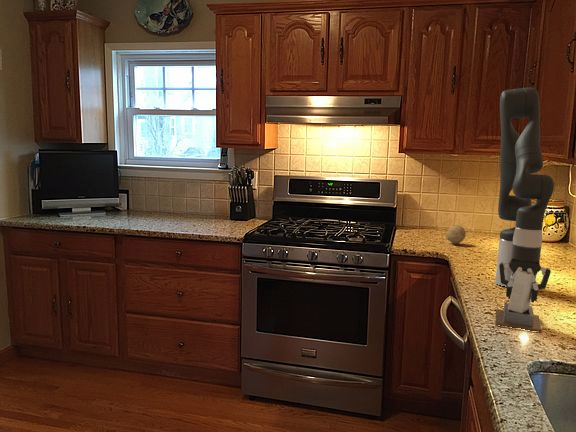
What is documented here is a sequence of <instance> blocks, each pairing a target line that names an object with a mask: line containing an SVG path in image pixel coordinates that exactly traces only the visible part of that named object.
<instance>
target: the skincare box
mask: <svg viewBox="0 0 576 432" xmlns="http://www.w3.org/2000/svg"><path fill="white" fill-rule="evenodd" d="M533 274H534V273H533ZM533 274H532V273H528V272H526V271H516V275H515V279H514V283H513V288H512V292H511V297H510V299H509V302H508V303H509V305H508V309H509V310H512V311H514V312H518V313H523V312H525V311H526V310H528V309H529V306H531V296H532V289H533V285H532V282H531V281H532V277H533ZM537 275H538V273H537V274H536V275H535V276H534V277H535V279H536V280H537Z"/></svg>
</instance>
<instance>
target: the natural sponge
mask: <svg viewBox="0 0 576 432" xmlns="http://www.w3.org/2000/svg"><path fill="white" fill-rule="evenodd" d="M465 238H466V230H465V228H464V227H463V226H461V225H459V224H456V225H452V226H451V227H450V228H449V229H448V231H447V233H446V239H447V240H448V241H449V242H450V243H452V244H453V245H459V244H461V242H463V241H464V240H465Z"/></svg>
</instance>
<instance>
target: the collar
mask: <svg viewBox="0 0 576 432" xmlns="http://www.w3.org/2000/svg"><path fill="white" fill-rule="evenodd" d="M508 305H509V302H504V305H503V309H495V318H496V320H495V324H494V325H500V326H507V327H512V328H521V329H525V330H530V331H539V332H541V333H542V332H543V331H542V325H541V320H540V316H539V315H538V314H534V310H533V306H532V305H530V306H529V309H528V310H526V311H525V312H523V313H518V312H514V311H512V310H509V309H508ZM530 331H529V332H530Z"/></svg>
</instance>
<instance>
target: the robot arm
mask: <svg viewBox="0 0 576 432" xmlns="http://www.w3.org/2000/svg"><path fill="white" fill-rule="evenodd" d="M499 99H500V100H499V114H500V115H499V117H500V152H499V153H500V156H499V178H500V181H499V183H500V184H499V195H498V205H497V207H498V209H497V212H498V213H497V214H498V217H499V218H500V220H503V221H511V222H515V225H514V226H513V227H510V228H506V229H503V230H500V231H499V239H498V250H497V261H496V262H497V263H496V271H495V280H494V284H495V283H496V284H498V285H497V286H499V285H501V286H500V287H502V286H505V287H504V288H506V287H507V288H506V292H505V297H506V298H507V300H510V297H511V292H512V287H513V283H514V279H515V275H516V271H526V272H528V273H532V274H533V273H534V274H533V277H532V281H531V282H532V285H533V289H532V296H531V301H530V303H535V302H536V301H537V300H538V294H539V293H538V292H539V291H540V290H546V287H547V285H548V281H549V280H550V275H551V273H552V272H551V271H552V270H551V268H550V267H545V266H544V267H543V266H541V264H540V263H541V261H540V260H541V253H542V243H543V224H544V218H545V215H546V214H545V213H546V210H547V208H548V204H549V202H550V201H551V198H552V196H553V193H554V191H555V182H554V179H553V178H552V177H551V176H550V175H548V174H536V173H538V172H540V171H541V170H542V169H543V166H544V158H543V151H542V146H541V110H540V109H541V108H540V107H541V106H540V102H541V101H540V95H539V91H538V90H537V89H536V87H522V88H521V87H520V88H513V89H506V90H503V91H502V92H501V94H500V98H499ZM515 119H516V120H517V119H528V121H527V124H526V126H525V127H524V129H523V131H522V132H521V134H520V135H519V133H518V131H517V130H516V129H515V126H514V125H513V123H512V120H515ZM511 191H513V194H514V195H513V194H511ZM532 200H535V202H534V203H533V204H532V202H533V201H532ZM540 271H541V275H542V279H541V282H540V283H538V282H537V278H536V279H535V277H534V276H535V275H536V274H537V275H538V273H539V272H540ZM537 275H536V276H537ZM496 284H495V285H496Z"/></svg>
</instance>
